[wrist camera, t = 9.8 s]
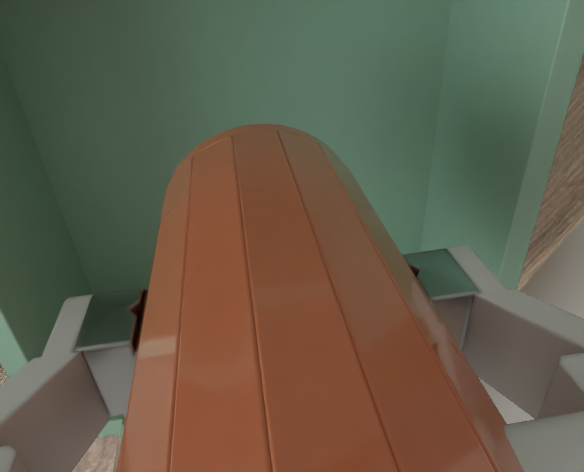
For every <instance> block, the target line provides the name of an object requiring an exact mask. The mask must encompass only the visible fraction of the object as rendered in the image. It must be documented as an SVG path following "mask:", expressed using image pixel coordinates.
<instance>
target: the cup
mask: <svg viewBox="0 0 584 472" xmlns="http://www.w3.org/2000/svg"><path fill="white" fill-rule="evenodd" d="M505 425H506V422H505V421H504V419H503V417H502V416H501V414H500V413H499V411H498V409H497V408H496V406H495V404H494V403H493V401H492V399H491V398H490V396H489V395H488V393H487V391H486V390H485V388H484V387H483V385H482V383H481V382H480V380H479V378H478V377H477V375H476V374H475V372H474V370H473V369H472V367H471V365H470V364H469V362H468V361H467V359H466V357H465V356H464V354H463V353H462V351H461V349H460V348H459V346H458V344H457V343H456V341H455V340H454V338H453V336H452V335H451V333H450V332H449V330H448V328H447V327H446V325H445V323H444V322H443V320H442V319H441V317H440V315H439V314H438V312H437V310H436V309H435V307H434V306H433V304H432V302H431V301H430V299H429V298H428V296H427V294H426V293H425V291H424V289H423V288H422V286H421V285H420V283H419V281H418V280H417V278H416V276H415V275H414V273H413V272H412V270H411V268H410V267H409V265H408V264H407V262H406V260H405V259H404V257H403V255H402V254H401V252H400V251H399V249H398V247H397V246H396V244H395V242H394V241H393V239H392V238H391V236H390V234H389V233H388V231H387V230H386V228H385V226H384V225H383V223H382V221H381V220H380V218H379V217H378V215H377V213H376V212H375V210H374V208H373V207H372V205H371V204H370V202H369V200H368V199H367V197H366V196H365V194H364V192H363V191H362V189H361V187H360V186H359V184H358V183H357V181H356V179H355V178H354V176H353V175H352V173H351V171H350V170H349V168H348V167H347V166H346V165H345V164H344V163H343V162H342V160H341V159H340V158H339V156H338V155H337V154H336V153H335V152H334V151H333V150H332V149H331V148H330V147H329V146H328V145H326V144H325V143H324V142H322V141H321V140H320V139H318V138H316V137H314V136H313V135H311V134H309V133H307V132H304V131H302V130H299V129H296V128H293V127H288V126H284V125H278V124H250V125H244V126H238V127H235V128H232V129H228V130H225V131H223V132H220V133H218V134H216V135H214V136H212V137H210V138H208V139H207V140H205V141H204V142H202V143H200V144H199V145H198V146H197V147H195V148H194V149H193V150H192V151H190V152H189V153H188V154H187V156H186V157H185V158H184V159H183V160H182V161H181V162H180V164H179V165H178V166H177V168H176V169H175V171H174V172H173V174H172V176H171V178H170V180H169V182H168V185H167V188H166V191H165V194H164V199H163V204H162V209H161V213H160V218H159V222H158V227H157V233H156V238H155V244H154V249H153V255H152V260H151V266H150V271H149V277H148V282H147V288H146V294H145V299H144V305H143V310H142V315H141V321H140V327H139V332H138V338H137V343H136V348H135V354H134V359H133V364H132V370H131V375H130V381H129V386H128V392H127V397H126V403H125V408H124V414H123V419H122V425H121V430H120V436H119V441H118V447H117V452H116V458H115V463H114V469H113V472H524V471H523V469H522V467H521V465H520V462H519V460H518V458H517V456H516V454H515V452H514V450H513V448H512V446H511V444H510V442H509V440H508V438H507V436H506V433H505V430H504V429H505Z"/></svg>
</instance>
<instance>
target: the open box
mask: <svg viewBox="0 0 584 472" xmlns="http://www.w3.org/2000/svg"><path fill="white" fill-rule="evenodd" d="M583 55H584V0H0V364H1V365H2V367H3V369H4V371H5V372H6V374H7V376H8V377H9V378H10V377H11V376H12V375H13V374H15V373H16V372H17V371H18V370H20V369H21V368H22V367H23V366H24V365H26V364H27V363H28V362H29V361H31V360H32V359H33V358H37V357H42V355H43V352H44V350H45V347H46V345H47V342H48V340H49V338H50V335H51V333H52V330H53V328H54V325H55V323H56V321H57V318H58V316H59V313H60V311H61V308H62V306H63V304H64V302H65V300H67V299H68V298H69V297H76V296H84V295H95V294H99V293H108V292H117V291H126V290H135V289H145V290H146V288H147V282H148V277H149V271H150V266H151V260H152V255H153V249H154V244H155V238H156V233H157V227H158V222H159V218H160V213H161V209H162V204H163V199H164V194H165V191H166V188H167V185H168V182H169V180H170V178H171V176H172V174H173V172H174V171H175V169H176V168H177V166H178V165H179V164H180V162H181V161H182V160H183V159H184V158H185V157H186V156H187V154H188V153H189V152H190V151H192V150H193V149H194V148H195V147H197V146H198V145H199V144H200V143H202V142H204V141H205V140H207V139H208V138H210V137H212V136H214V135H216V134H218V133H220V132H223V131H225V130H228V129H232V128H235V127H238V126H244V125H250V124H278V125H284V126H288V127H293V128H296V129H299V130H302V131H304V132H307V133H309V134H311V135H313V136H314V137H316V138H318V139H320V140H321V141H322V142H324V143H325V144H326V145H328V146H329V147H330V148H331V149H332V150H333V151H334V152H335V153H336V154H337V155H338V156H339V158H340V159H341V160H342V162H343V163H344V164H345V165H346V166H347V167H348V168H349V170H350V171H351V173H352V175H353V176H354V178H355V179H356V181H357V183H358V184H359V186H360V187H361V189H362V191H363V192H364V194H365V196H366V197H367V199H368V200H369V202H370V204H371V205H372V207H373V208H374V210H375V212H376V213H377V215H378V217H379V218H380V220H381V221H382V223H383V225H384V226H385V228H386V230H387V231H388V233H389V234H390V236H391V238H392V239H393V241H394V242H395V244H396V246H397V247H398V249H399V251H400V252H401V254H408V253H415V252H423V251H430V250H437V249H442V248H445V247H451V246H458V245H464V244H465V245H467V246H469V247H470V248H471V249H472V250H473V251H474V252H475V253H476V254H477V256H478V257H479V258H480V259H481V260H482V261H483V263H484V264H485V265H486V266H487V267H488V268H489V269H490V271H491V272H492V273H493V274H494V275H495V276H496V277H497V279H498V280H499V281H500V282H501V283H502V284H503V285H504V287H505V288H506V289H516V290H517V287H518V284H519V280H520V276H521V273H522V269H523V266H524V262H525V259H526V255H527V252H528V248H529V245H530V241H531V238H532V234H533V231H534V227H535V224H536V220H537V217H538V213H539V210H540V206H541V203H542V199H543V195H544V192H545V188H546V185H547V181H548V178H549V174H550V171H551V167H552V164H553V160H554V157H555V153H556V150H557V146H558V143H559V139H560V136H561V132H562V129H563V125H564V122H565V118H566V115H567V111H568V107H569V104H570V100H571V97H572V93H573V90H574V86H575V83H576V79H577V76H578V72H579V69H580V65H581V62H582V58H583ZM477 377H478V376H477ZM109 418H110V420H109V422H108V423H107V424H106V426H105V427H104V428H103V430H102V431H101V432H100V434H99V435H98V436H97V438H98V437H104V436H110V435H117V434H120V430H121V425H122V419H123V415H118V416H113V417H109Z"/></svg>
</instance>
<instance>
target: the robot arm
mask: <svg viewBox="0 0 584 472" xmlns="http://www.w3.org/2000/svg"><path fill="white" fill-rule="evenodd" d="M402 255H403V257H404V259H405V260H406V262H407V264H408V265H409V267H410V268H411V270H412V272H413V273H414V275H415V276H416V278H417V280H418V281H419V283H420V285H421V286H422V288H423V289H424V291H425V293H426V294H427V296H428V298H429V299H430V301H431V302H432V304H433V306H434V307H435V309H436V310H437V312H438V314H439V315H440V317H441V319H442V320H443V322H444V323H445V325H446V327H447V328H448V330H449V332H450V333H451V335H452V336H453V338H454V340H455V341H456V343H457V344H458V346H459V348H460V349H461V351H462V353H463V354H464V356H465V357H466V359H467V361H468V362H469V364H470V365H471V367H472V369H473V370H474V372H475V374H476V375H477V376H478V377H479V378H481V379H482V380H484V381H485V382H486V383H487V384H489V385H490V386H492V387H493V388H494V389H495V390H497V391H498V392H500V393H501V394H502V395H504V396H505V397H506V398H508V399H509V400H510V401H512V402H513V403H514V404H516V405H517V406H518V407H520V408H521V409H523V410H524V411H525V412H527V413H528V414H530V415H531V416H532V417H533V418H535V420H530V421H524V422H518V423H512V424H506V425H505V429H504V430H505V433H506V436H507V438H508V440H509V442H510V444H511V446H512V448H513V450H514V452H515V454H516V456H517V458H518V460H519V462H520V465H521V467H522V469H523V471H524V472H584V319H583V318H580V317H578V316H576V315H574V314H571V313H569V312H567V311H564V310H562V309H560V308H557V307H555V306H553V305H551V304H548V303H546V302H544V301H541V300H539V299H537V298H535V297H532V296H530V295H528V294H525V293H523V292H521V291H518V290H516V289H506V288H505V287H504V285H503V284H502V283H501V282H500V281H499V280H498V279H497V277H496V276H495V275H494V274H493V273H492V272H491V271H490V269H489V268H488V267H487V266H486V265H485V264H484V263H483V261H482V260H481V259H480V258H479V257H478V256H477V254H476V253H475V252H474V251H473V250H472V249H471V248H470V247H469V246H467V245H465V244H464V245H458V246H451V247H445V248H442V249H437V250H430V251H423V252H415V253H408V254H402ZM145 294H146V290H145V289H135V290H126V291H117V292H108V293H99V294H95V295H84V296H76V297H69V298H68V299H67V300H65V302H64V304H63V306H62V308H61V311H60V313H59V316H58V318H57V321H56V323H55V325H54V328H53V330H52V333H51V335H50V338H49V340H48V342H47V345H46V347H45V350H44V352H43V355H42V357H37V358H33V359H32V360H31V361H29V362H28V363H27V364H26V365H24V366H23V367H22V368H21V369H20V370H18V371H17V372H16V373H15V374H13V375H12V376H11V377H10V378H9V379H7V380H6V381H5V382H4V383H2V384H1V385H0V472H71V471H72V470H73V469H74V467H75V466H76V465H77V463H78V462H79V461H80V459H81V458H82V457H83V455H84V454H85V452H86V451H87V450H88V448H89V447H90V446H91V444H92V443H93V442H94V440H95V439H96V438H97V436H98V435H99V434H100V432H101V431H102V430H103V428H104V427H105V426H106V424H107V423H108V422H109V420H110V418H109V417H113V416H118V415H123V414H124V408H125V403H126V397H127V392H128V386H129V381H130V375H131V370H132V364H133V359H134V354H135V348H136V343H137V338H138V332H139V327H140V321H141V315H142V310H143V305H144V299H145Z"/></svg>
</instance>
